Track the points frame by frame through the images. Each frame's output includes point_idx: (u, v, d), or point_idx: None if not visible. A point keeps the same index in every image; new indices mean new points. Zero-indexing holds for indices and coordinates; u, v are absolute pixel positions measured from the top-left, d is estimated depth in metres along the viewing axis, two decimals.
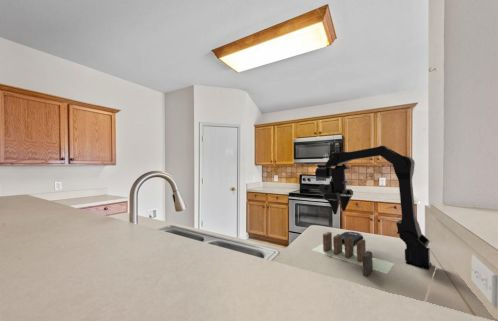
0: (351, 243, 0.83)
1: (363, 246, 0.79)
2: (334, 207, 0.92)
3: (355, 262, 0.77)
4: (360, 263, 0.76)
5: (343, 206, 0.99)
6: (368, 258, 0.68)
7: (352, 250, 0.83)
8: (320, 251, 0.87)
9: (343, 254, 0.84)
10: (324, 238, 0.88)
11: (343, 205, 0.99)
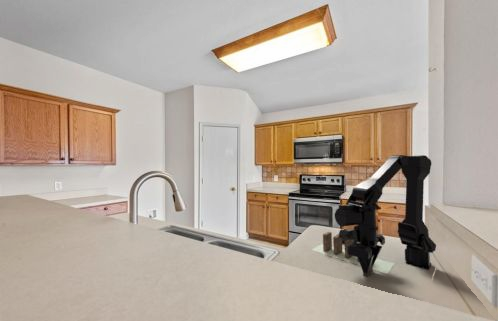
0: (351, 243, 0.83)
1: None
2: (364, 264, 0.67)
3: (355, 262, 0.77)
4: None
5: None
6: None
7: None
8: (320, 251, 0.87)
9: (343, 254, 0.84)
10: (324, 238, 0.88)
11: None
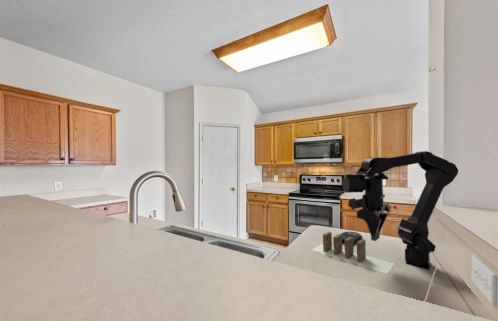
0: (351, 243, 0.83)
1: (363, 246, 0.79)
2: (372, 228, 0.73)
3: (355, 262, 0.77)
4: (360, 263, 0.76)
5: None
6: None
7: (352, 250, 0.83)
8: (320, 251, 0.87)
9: (343, 254, 0.84)
10: (324, 238, 0.88)
11: None
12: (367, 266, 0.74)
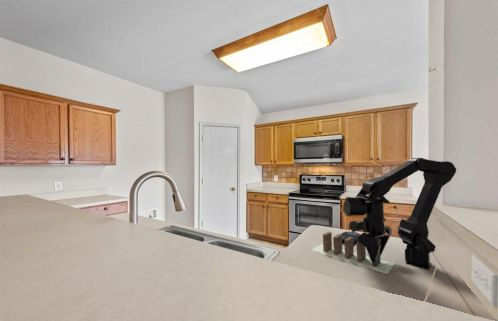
0: (351, 243, 0.83)
1: (363, 246, 0.79)
2: (372, 253, 0.72)
3: (355, 262, 0.77)
4: (360, 263, 0.76)
5: None
6: None
7: (352, 250, 0.83)
8: (320, 251, 0.87)
9: (343, 254, 0.84)
10: (324, 238, 0.88)
11: None
12: (367, 266, 0.74)
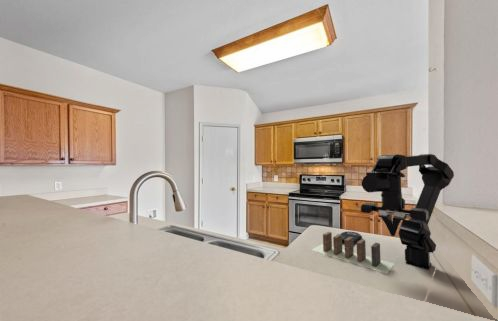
0: (351, 243, 0.83)
1: (363, 246, 0.79)
2: None
3: (355, 262, 0.77)
4: (360, 263, 0.76)
5: None
6: (376, 248, 0.74)
7: (352, 250, 0.83)
8: (320, 251, 0.87)
9: (343, 254, 0.84)
10: (324, 238, 0.88)
11: None
12: (367, 266, 0.74)
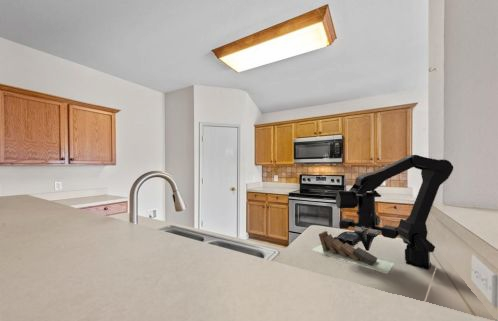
0: (339, 243, 0.86)
1: (348, 247, 0.83)
2: None
3: (355, 262, 0.77)
4: (360, 263, 0.76)
5: None
6: (357, 251, 0.79)
7: None
8: (320, 251, 0.87)
9: None
10: (320, 237, 0.89)
11: None
12: (367, 266, 0.74)
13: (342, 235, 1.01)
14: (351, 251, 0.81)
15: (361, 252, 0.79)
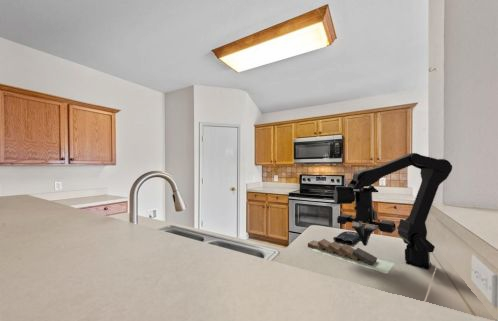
0: (336, 245, 0.87)
1: (347, 247, 0.83)
2: None
3: (355, 262, 0.77)
4: (360, 263, 0.76)
5: None
6: (356, 251, 0.79)
7: None
8: (320, 251, 0.87)
9: None
10: (310, 245, 0.92)
11: None
12: (367, 266, 0.74)
13: (342, 235, 1.01)
14: (350, 251, 0.81)
15: (361, 252, 0.79)
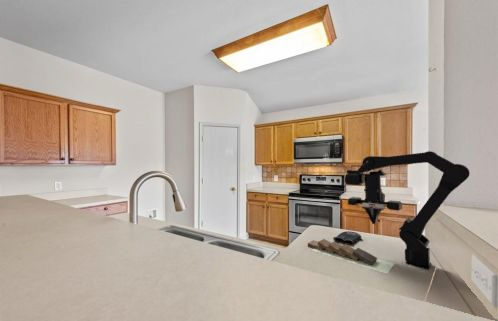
0: (336, 245, 0.87)
1: (347, 247, 0.83)
2: None
3: (355, 262, 0.77)
4: (360, 263, 0.76)
5: None
6: (356, 251, 0.79)
7: None
8: (320, 251, 0.87)
9: None
10: (310, 245, 0.92)
11: None
12: (367, 266, 0.74)
13: (342, 235, 1.01)
14: (350, 251, 0.81)
15: (361, 252, 0.79)
